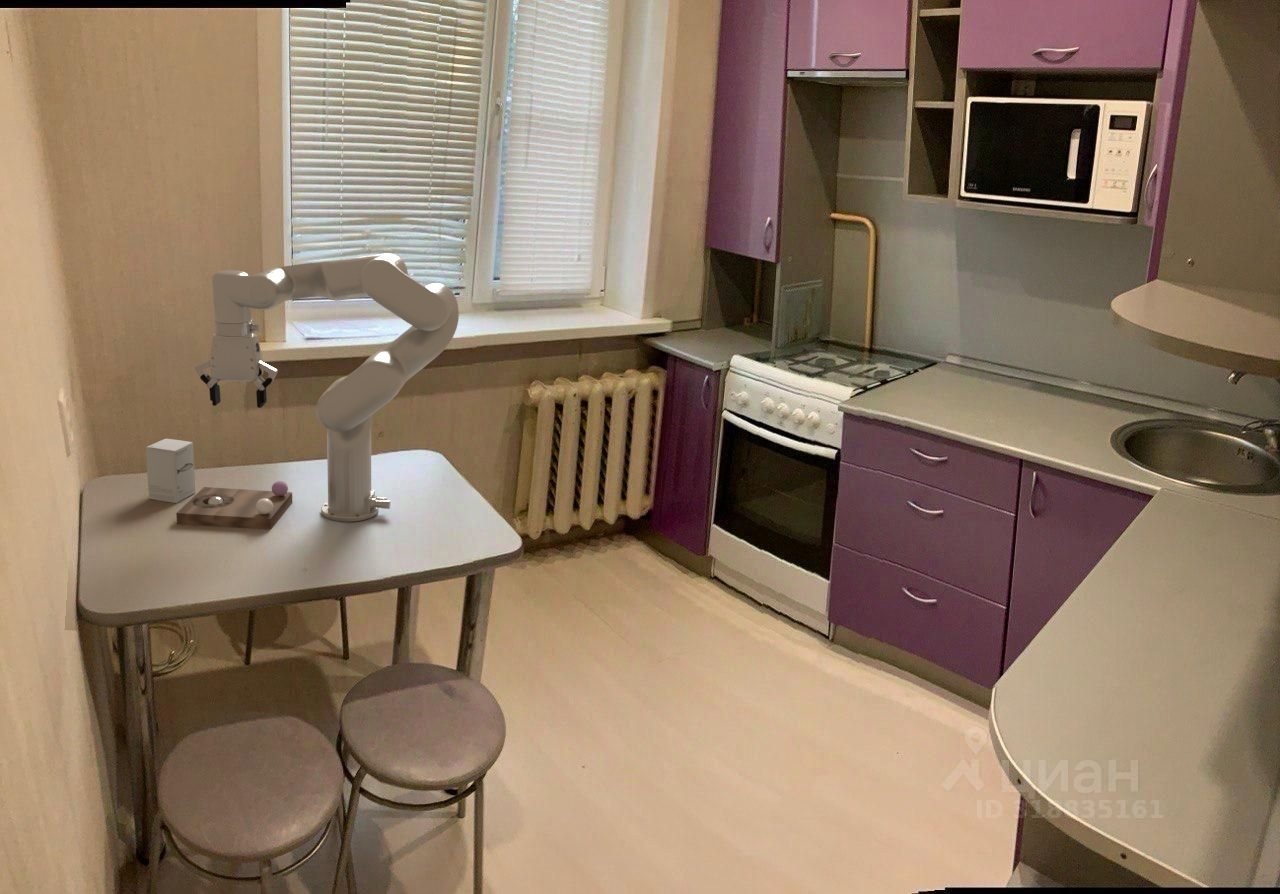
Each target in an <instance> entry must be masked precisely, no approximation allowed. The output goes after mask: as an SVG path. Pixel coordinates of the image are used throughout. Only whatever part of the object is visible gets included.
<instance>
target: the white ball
mask: <svg viewBox="0 0 1280 894" xmlns="http://www.w3.org/2000/svg"><path fill="white" fill-rule="evenodd" d="M256 509H257V511H258V512H259V513H260V514H268V513H270V512H271V511H272V509H273V503H272V502H271V501H270V500H269V499H266V498H263V499H260V500H259V501H258V502H257V504H256Z"/></svg>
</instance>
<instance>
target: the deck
mask: <svg viewBox="0 0 1280 894" xmlns="http://www.w3.org/2000/svg"><path fill="white" fill-rule="evenodd" d="M214 496H217V497H220V498H222V499H223V501H224V502H223V503H220V504H216V505H207V503H208V500H209V499H210V498H212V497H214ZM263 498H266V499H269V500H270V501H271V502H272V503H273V509H272V511H271V512H270V513H268V514H260V513H259V512H258V511H257V509H256V504H257V502H258V501H259V500H260V499H263ZM292 504H293V492H290V491H289V492H288V491H287V493H286V494H285V495H283V496H276V495H275V494H273V492H272V490H258V489H241V488H229V487H228V488H224V487H212V486H211V487H207V486H204V487H203V488H201V489H200V490H199V491H198V492H197V493H195V494H194V496H192V498H190V500H188V501H187V502H186V503H185V504H184V505H183V506H182V507H181V508H180V509H179V510H178V511H176V524H177V525H193V526H194V525H195V526H205V527H207V526H208V527H221V528H222V527H224V528H225V527H226V528H239V529H240V528H241V529H242V528H243V529H257V530H258V529H260V530H272V529H273V527H275V525H276V524H277V523H278V521H279V520H280V519H281V517H282V516H283V515H284V514H285V513H286V511H288V509H289V508H290V507H291V506H292Z"/></svg>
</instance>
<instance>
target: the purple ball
mask: <svg viewBox="0 0 1280 894" xmlns="http://www.w3.org/2000/svg"><path fill="white" fill-rule="evenodd" d="M271 491H272V492H273V494H275V495H276V496H283V495H285V494H286V493H287V492H288V491H289V486H288V484H287V483H286V482H285V481H282V480H277V481H275V482H274V483H273V484H272V486H271Z"/></svg>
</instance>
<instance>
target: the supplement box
mask: <svg viewBox="0 0 1280 894" xmlns="http://www.w3.org/2000/svg"><path fill="white" fill-rule="evenodd" d="M145 455H146V456H145V458H146V460H145V461H146V475H147V487H148V488H147V489H148V490H147V491H148V499H149V500H154V501H160V502H167V503H173V504H178V503H179V502H181V501H182V500H184V499H186V498H188V497H191V496H192V495H195V494H196V475H195V474H196V473H195V459H194V458H195V455H194V442H193V441H188V440H187V441H186V440H180V439H173V438H164V439H161V440H159V441H157V442H155V443H152V444H150V445H148V446H146V447H145Z"/></svg>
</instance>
